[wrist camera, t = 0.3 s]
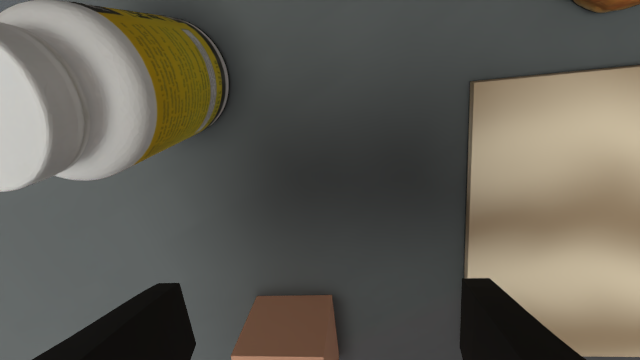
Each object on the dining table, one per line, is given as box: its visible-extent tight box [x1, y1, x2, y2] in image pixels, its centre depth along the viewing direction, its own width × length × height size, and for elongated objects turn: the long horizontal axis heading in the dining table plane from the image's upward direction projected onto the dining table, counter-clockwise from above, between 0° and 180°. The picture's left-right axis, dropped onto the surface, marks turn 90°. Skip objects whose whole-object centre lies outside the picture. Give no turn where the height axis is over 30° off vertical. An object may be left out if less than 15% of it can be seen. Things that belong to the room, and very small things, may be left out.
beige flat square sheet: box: [464, 65, 640, 357], centre depth 17 cm, size 15×15×1 cm
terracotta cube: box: [231, 295, 339, 360], centre depth 20 cm, size 4×4×4 cm
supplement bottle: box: [0, 0, 229, 192], centre depth 13 cm, size 5×5×10 cm
